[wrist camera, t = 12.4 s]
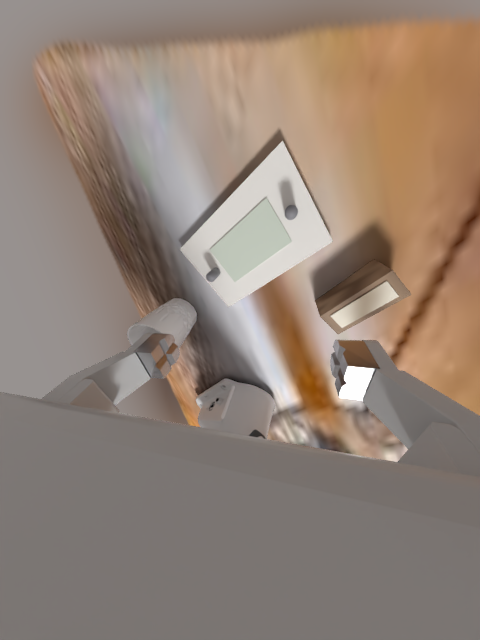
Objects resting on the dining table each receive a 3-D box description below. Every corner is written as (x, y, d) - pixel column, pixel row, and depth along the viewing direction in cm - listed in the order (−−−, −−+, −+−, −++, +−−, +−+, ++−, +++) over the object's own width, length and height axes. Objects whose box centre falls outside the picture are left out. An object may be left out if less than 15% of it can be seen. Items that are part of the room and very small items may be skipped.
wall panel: (230, 304, 31) (224, 315, 28) (183, 247, 27) (170, 253, 24) (330, 239, 23) (338, 245, 20) (282, 144, 19) (282, 131, 16)
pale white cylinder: (190, 334, 38) (164, 369, 30) (158, 313, 36) (122, 344, 28) (206, 311, 33) (182, 345, 25) (172, 286, 32) (133, 314, 24)
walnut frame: (330, 316, 29) (338, 334, 24) (315, 300, 28) (320, 317, 24) (389, 279, 24) (412, 295, 20) (373, 258, 23) (393, 270, 19)
